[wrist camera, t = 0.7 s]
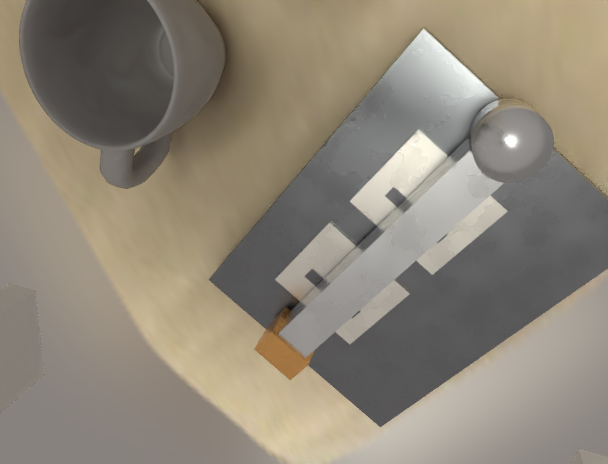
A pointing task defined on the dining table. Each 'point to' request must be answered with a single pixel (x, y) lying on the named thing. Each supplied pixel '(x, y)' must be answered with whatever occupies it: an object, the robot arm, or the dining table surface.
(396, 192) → the chassis
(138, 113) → the mug
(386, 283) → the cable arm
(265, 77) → the dining table surface
